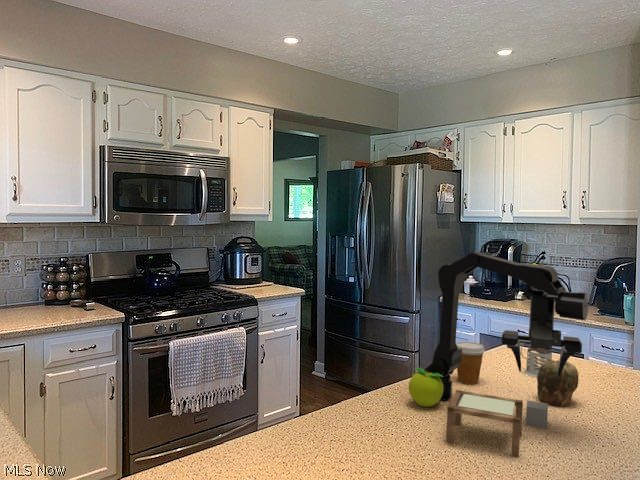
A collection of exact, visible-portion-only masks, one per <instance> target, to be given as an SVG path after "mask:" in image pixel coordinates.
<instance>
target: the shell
mask: <svg viewBox="0 0 640 480" xmlns="http://www.w3.org/2000/svg"><path fill="white" fill-rule="evenodd" d="M559 360H560V359H559ZM559 360H558V359H557V360H553V359H552V360H550V361H547V362H546V363H544V364H543V365H540V366H541V367H540V370H539V372H538V375H537V378H536V382H537V386H536V387H537V390H536V391H537V392H536V393H537V397H538V399H539V401H540V402H542V403H548V405H551V406H556V407H561V406H568V405H570V404H571V402H572V398H573V394H574V393H575V392H576V390H577V389H578V387H579V382H580V381H579V371H578V369H577V367H576V366H575V365H574V364H572V363H571V362H569V361H567V362H566V363H565V365H564V368H563V370H562V372H561V375H560V377H558V365H559Z"/></svg>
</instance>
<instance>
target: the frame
mask: <svg viewBox="0 0 640 480" xmlns="http://www.w3.org/2000/svg"><path fill="white" fill-rule="evenodd" d="M463 394H468V395H474V396H480V397H487V398H493V399H499V400H505V401H511V402H515V416H514V415H513V416H509V415H503V414H498V413H492V412H486V411H480V410H475V409H469V408H463V407H457V405H458V403H459V401H460V399H461V397H462V395H463ZM523 403H524V400H522V399H514V398H509V397H502V396H497V395H489V394H485V393H484V394H482V393H479V392H471V391H464V390H458V389H456V390H455V392H454V393H453V395H452V397H451V400H450V401H449V403H448V406H447V409H446V411H447V413H446V437H445V438H446V439H445V442H446V443H447V444H453V443H454V441H455V425H456V426H461V425H462V420H463V419H462V415H467V416H472V417H478V418H483V419H488V420H495V421H499V422H505V423H509V424H510V423H511V424H512V430H511V431H512V435H511V437H512V438H511V456H513V457H516V458H519V457H520V440H521V439H520V438H521V437H522V432H523V431H522V429H523V407H524V406H523V405H524V404H523Z"/></svg>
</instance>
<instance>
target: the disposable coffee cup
mask: <svg viewBox="0 0 640 480" xmlns="http://www.w3.org/2000/svg"><path fill="white" fill-rule="evenodd" d="M456 345H457V348H458V349H462V354H461V360H462V362H461V363H460V364H459V366H458V367H457V368H456V369H457V370H456V372H457V381H458V382H459V383H461V384H464V385H477V384H478V383H479V380H480V373H481V367H482V364H483V363H482V361H483V355H484V354H485V351H486V350H485V348H484V345H483V344H481V343H479V342H473V341H458V342H456Z"/></svg>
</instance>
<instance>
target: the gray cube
mask: <svg viewBox="0 0 640 480" xmlns="http://www.w3.org/2000/svg"><path fill="white" fill-rule="evenodd" d="M525 411H526V412H525V414H526V415H525V416H526V417H525V426H527V427H534V428H538V429H545V430H547V429H548V413H549V404H548V403H543V402H541V401H540V402H539V401H534V400H528V399H527V400H526V409H525Z"/></svg>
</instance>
